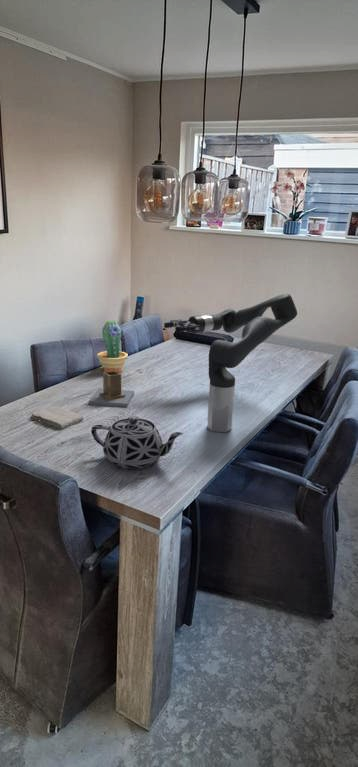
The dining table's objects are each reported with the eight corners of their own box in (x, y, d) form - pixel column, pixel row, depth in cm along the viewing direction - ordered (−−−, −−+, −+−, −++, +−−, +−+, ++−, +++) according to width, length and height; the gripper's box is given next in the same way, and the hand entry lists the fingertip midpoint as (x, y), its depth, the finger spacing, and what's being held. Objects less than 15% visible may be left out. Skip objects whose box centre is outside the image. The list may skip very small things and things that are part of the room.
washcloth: (52, 410, 205) (52, 403, 204) (85, 421, 195) (84, 413, 194) (28, 419, 196) (28, 411, 195) (61, 431, 186) (61, 423, 185)
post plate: (127, 407, 210) (127, 384, 207) (88, 404, 211) (88, 381, 208) (134, 394, 225) (134, 372, 222) (98, 391, 226) (98, 370, 223)
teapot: (174, 482, 153) (176, 436, 148) (79, 466, 160) (78, 422, 155) (189, 455, 171) (191, 413, 166) (103, 442, 178) (102, 401, 173)
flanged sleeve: (125, 397, 217) (125, 374, 213) (108, 400, 212) (107, 377, 209) (116, 391, 223) (116, 369, 220) (99, 394, 218) (99, 372, 215)
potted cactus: (92, 373, 252) (91, 322, 244) (102, 364, 266) (102, 316, 258) (123, 375, 249) (123, 325, 241) (131, 367, 263) (132, 319, 256)
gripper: (210, 335, 221) (179, 339, 212) (191, 329, 232) (160, 332, 224) (211, 318, 219) (179, 321, 210) (191, 312, 230) (161, 315, 221)
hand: (170, 327), depth 217 cm, fingers open, 8 cm apart
